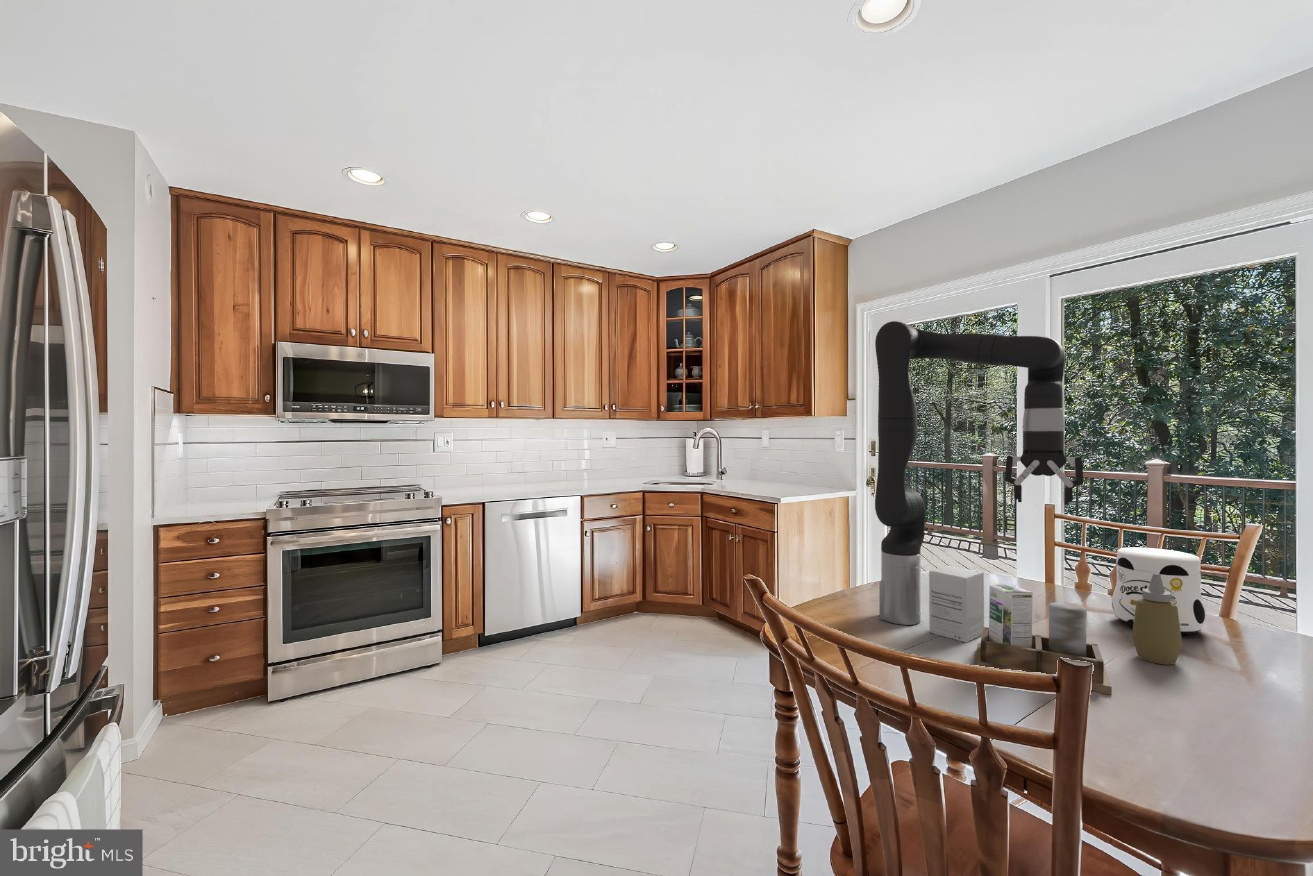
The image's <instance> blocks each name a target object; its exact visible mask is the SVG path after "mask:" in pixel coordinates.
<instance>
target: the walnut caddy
mask: <svg viewBox="0 0 1313 876" xmlns="http://www.w3.org/2000/svg"><path fill="white" fill-rule="evenodd" d="M980 637H981V638H980V643H979V642H977V645H976V651H975V655H974V660H973V666H974V665H979V666H985V667H994V668H999V669H1011V670H1022V671H1026V672H1041V673H1046V674H1056V672H1057V660H1058V658H1060V657H1063V658H1069V659H1071V660H1080V661H1087V662H1090V663H1093V665H1094V671H1093V674H1092V691H1091V692H1093V693H1094V692H1095V693H1100V694H1105V695H1110V696H1112V693H1113V691H1112V688H1113V687H1112V684H1111V681H1110V678H1109V675H1108V672H1107V669H1106V666H1105V662H1104V659H1103V656H1102V653H1101V650H1100V647H1099V645H1098V644H1097V643H1091V642H1087V608H1085V607H1084V606H1081V605H1078V604H1074V603H1068V602H1050V603H1048V636H1045V635H1040V634H1034V633H1032V649H1031V648H1025V647H1019V646H1013V645H1007V644H1001V643H995V642H989V626H988V627H987V626H984V627H983V632H982V635H981V636H980Z"/></svg>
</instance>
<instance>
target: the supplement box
mask: <svg viewBox="0 0 1313 876" xmlns="http://www.w3.org/2000/svg"><path fill="white" fill-rule="evenodd" d="M928 572H929V573H928V577H929V578H928V581H929V582H928V583H929V584H928V587H929V588H928V589H929V591H928V594H929V602H928V603H929V604H928V605H929V606H928V607H929V609H928V610H929V614H928V616H929V619H928V621H929V623H928V624H929V627H928V629H929V633H931V634H934V635H938V636H942V637H944V636H945V638H948V639H952V638H953V639H952V640H955V641H959V640H960V641H959V642H962V641H963V642H962V643H968V642H971V641H973V640H975V639H976V638H979V637H982V632H983V627H985V577H984V572H983V571H979V570H974V569H968V568H964V567H963V568H962V567H959V566H954V565H946V566H942V567H937V568H935V569H931V570H929V571H928ZM974 638H975V639H974ZM970 640H971V641H970Z"/></svg>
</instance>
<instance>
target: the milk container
mask: <svg viewBox="0 0 1313 876" xmlns="http://www.w3.org/2000/svg"><path fill="white" fill-rule="evenodd" d="M1115 561H1116V583H1115V584H1116V585H1115V588H1114V590H1113V593H1112V597H1111V606H1112V612H1113V614H1114V617H1116V618H1117V619H1118V620H1119V621H1121V622H1123V623H1125V624H1126V625H1129V626H1132V627H1133V623H1134V616H1135V609H1136V601H1138V600H1139V599H1142V598H1143V597H1142V590H1143V589H1149V586H1150V582H1151V579H1152V576H1153V573H1156V574H1160V575H1161V579H1162V582H1163V586H1164V590H1165V591H1167V592H1170V593H1171V594H1172V601H1171V603H1173V604H1175V605H1176V606H1177V607H1178V615H1179V623H1180V631H1181V635H1186V634H1187V635H1190V634H1191V635H1192V634H1194V633H1198V632H1200V631H1202V630H1203V629H1204V627H1205V624H1206V619H1207V610H1206V606H1205V604H1204V602H1203V597H1202V591H1201V590H1202V589H1201V585H1202V573H1201V569H1202V566H1201V559H1200V557H1199V556H1197V555H1196V554H1193V553H1187V552H1183V551H1178V550H1170V549H1163V548H1152V547H1139V546H1138V547H1136V546H1135V547H1134V546H1133V547H1121V548H1118V549H1117V553H1116V559H1115Z"/></svg>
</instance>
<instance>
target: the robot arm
mask: <svg viewBox="0 0 1313 876" xmlns="http://www.w3.org/2000/svg"><path fill="white" fill-rule="evenodd" d="M874 343H875V344H874V346H875V355H876V362H877V363H876V365H877V372H878V374H877V375H878V394H877V395H878V397H877V398H878V400H877V403H878V405H877V406H878V409H877V410H878V411H877V412H878V413H877V437H878V451H877V453H878V454H877V455H878V456H877V457H878V458H877V460H878V462H877V478H876V488H875V497H874V498H875V499H874V510H875V514H876V516H877V518H878V521H879V522H880V523H881V524H882V525H884V526H886V527H889V532H888V533H887V535H886V536H885V537H884V538H883V539H882V540H881V546H880V549H881V552H880V556H881V558H880V560H881V561H880V563H881V564H880V565H881V572H880V573H881V576H880V579H881V580H880V581H879V584H878V585H879V586H878V587H879V588H878V589H879V592H878V593H879V595H878V597H879V598H878V599H879V603H878V605H879V607H878V608H879V609H878V610H879V612H878V613H879V617H878V618H879V620H882V621H886V622H887V623H892V624H896V625H903V626H904V625H905V626H908V625H909V626H911V625H918V624H920V623H921V615H922V613H921V612H922V611H921V589H922V588H921V584H922V583H921V567H922V566H921V548H922V545H923V543H924V539H925V529H926V528H925V527H926V524H925V523H926V506H925V502H924V499H923V497H922V496H921V494H920V493H919V492H918V491H917V490H914V489H911V488H906V470H907V466H908V463H909V461H910V458H911V456H912V454H913V451H914V448H915V446H916V443H917V439H918V409H917V404H916V400H915V396H914V393H913V389H912V386H911V382H910V374H909V373H910V372H909V369H910V360H921V359H935V360H936V359H937V360H938V359H939V360H949V361H956V362H961V363H968V364H969V363H970V364H975V365H977V364H978V365H985V366H986V365H987V366H995V367H1000V366H1001V367H1003V366H1004V367H1005V366H1011V367H1019V368H1025V369H1026V368H1027V384H1026V385H1025V387H1024V392H1023V393H1024V397H1023V401H1024V402H1023V408H1024V409H1023V417H1022V427H1021V428H1022V455H1020V456H1015V455H1011V454H1009V455H1007V456H1006V459H1005V475H1004V482H1006V483H1010V484H1013V486H1014V487H1013V490H1014V491H1013V495H1014V496H1013V497H1014V499H1015V500H1017V503H1022V501H1023V499H1022V498H1023V497H1022V495H1023V493H1022V491H1023V489H1022V487H1023V485H1022V483H1023V482H1024V481H1025V480H1026V479H1027V478H1028V477H1029V476H1030V475H1033V476H1037V477H1038V476H1046V477H1052V476H1055V475H1056V476H1057V477H1058V478H1059V479H1060V480H1061V481H1062V482H1063V483H1064V485H1065V486H1064V488H1063V489H1064V490H1063V494H1064V496H1063V501H1064V503H1063V504H1064V505H1065V506H1069V505H1070V503H1072V502H1073V500H1074V497H1073V495H1074V494H1073V493H1074V492H1073V491H1074V490H1073V489H1074V487H1077V486H1081V485H1083V484H1084V482H1085V481H1084V470H1083V469H1084V468H1083V459H1082V457H1081V456H1074V457H1073V456H1070V457H1066V455H1065V416H1064V409H1063V405H1064V403H1063V402H1064V398H1063V396H1064V395H1063V394H1064V393H1063V380H1064V373H1065V363H1066V361H1065V360H1066V359H1065V358H1066V357H1065V356H1066V355H1065V349H1064V347H1063V346H1062V345H1061V343H1059V342H1058V341H1056V339H1053V338H1052V337H1047V336H1039V335H1015V336H1014V335H1013V336H1011V335H1006V334H995V333H993V334H992V333H979V332H978V333H976V332H971V333H970V332H966V333H965V332H963V333H941V332H939V333H938V332H932V331H928V330H923V329H920V328H915V327H914V326H912V325H911V324H907V323H904V322H902V321H898V320H897V321H896V320H895V321H894V320H893V321H889V322H886V323H885V324H883V325H882V326H881V327H880V328H879V330H878V331H877V333H876V335H875V342H874ZM1018 462H1020V463H1021V464H1022V465H1023V466H1024V467H1025V469H1024V470H1023V471H1022V472H1021V473H1020V474H1019V475H1018V476H1017V478H1015V477H1012V476H1013V475H1012V474H1013V466H1016V465H1017V464H1018ZM1067 463H1069V464H1070V466H1071V467H1072V468H1074V475H1075V479H1072V480H1071V479H1070V478H1068V476H1067V475H1066V474H1065V473H1064V472H1063V471H1062V470H1061V469H1063V467H1064V466H1065V464H1067Z"/></svg>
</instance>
